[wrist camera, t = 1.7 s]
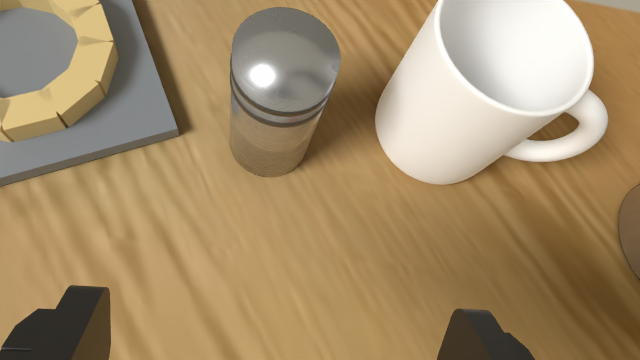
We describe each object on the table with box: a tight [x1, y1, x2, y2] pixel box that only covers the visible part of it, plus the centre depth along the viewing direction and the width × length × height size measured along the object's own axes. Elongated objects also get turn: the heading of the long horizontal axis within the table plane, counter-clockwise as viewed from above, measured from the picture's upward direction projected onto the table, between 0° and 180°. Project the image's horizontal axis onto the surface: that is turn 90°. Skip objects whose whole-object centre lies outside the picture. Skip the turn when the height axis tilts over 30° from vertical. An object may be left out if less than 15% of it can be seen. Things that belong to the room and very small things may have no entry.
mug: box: [375, 0, 608, 185], centre depth 27 cm, size 12×8×10 cm
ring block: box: [0, 0, 179, 186], centre depth 27 cm, size 14×14×2 cm
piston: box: [230, 7, 341, 177], centre depth 25 cm, size 5×5×10 cm
